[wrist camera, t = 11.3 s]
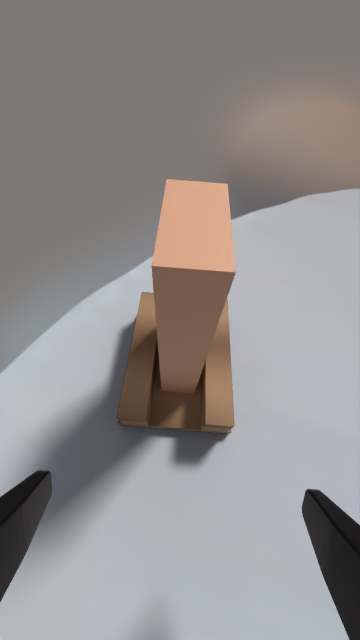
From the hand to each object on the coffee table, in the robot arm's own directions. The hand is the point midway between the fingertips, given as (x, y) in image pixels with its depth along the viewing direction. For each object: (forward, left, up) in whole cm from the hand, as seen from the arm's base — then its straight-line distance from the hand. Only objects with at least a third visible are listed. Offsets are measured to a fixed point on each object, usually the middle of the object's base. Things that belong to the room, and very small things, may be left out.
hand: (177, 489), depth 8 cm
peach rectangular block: (+8, +3, -8) cm, 11 cm away
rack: (+8, +3, -9) cm, 12 cm away
